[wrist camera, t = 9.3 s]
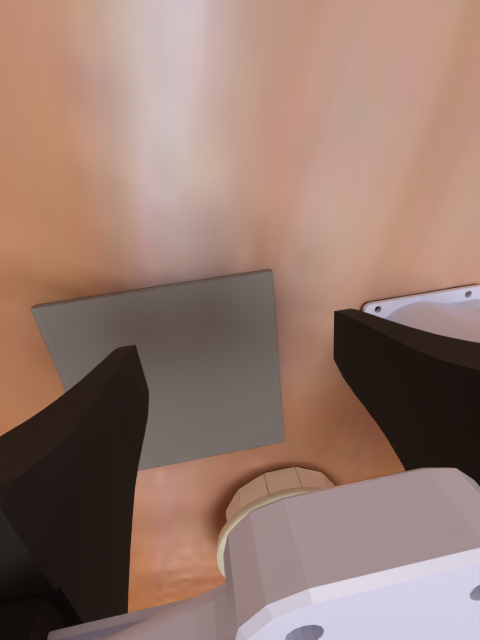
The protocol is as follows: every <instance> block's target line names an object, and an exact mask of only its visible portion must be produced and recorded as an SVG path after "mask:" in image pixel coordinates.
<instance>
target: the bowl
mask: <svg viewBox="0 0 480 640" xmlns="http://www.w3.org/2000/svg"><path fill="white" fill-rule="evenodd" d="M297 487H319V488H330V487H335V485H334V484H333V483H332V482H331V481H330V480H329V479H328V478H327V477H326V476H325V475H324V474H323V473H321V472H318V471H313V470H309V469H304V468H299V467H295V468H294V467H291V468H286V469H282V470H277V471H272V472H267V473H264V474H262V475H260V476H258V477H257V478H255V479H254V480H252V481H251V482H249V483H248V484H246V485H244V486H243V487H241V488H240V489H238V490H239V491H238V490H237V492H236V494H235V495H234V497H233V499H232V501H231V502H230V504H229V506H228V507H227V509H226V519H227V521H228V520H229V519H230V518H231V517H232V516H233V515H234V514H235V513H236V512H237V511H239V510H240V509H241V508H243V507H244V506H246V505H247V504H249V503H250V502H252V501H254V500H256V499H258V498H260V497H263V496H265V495H268V494H270V493H273V492H277V491H280V490H285V489H289V488H297Z"/></svg>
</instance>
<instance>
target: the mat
mask: <svg viewBox="0 0 480 640" xmlns="http://www.w3.org/2000/svg"><path fill="white" fill-rule="evenodd" d="M31 311H32V313H33V316H34V318H35V320H36V323H37V325H38V327H39V330H40V332H41V334H42V337H43V339H44V341H45V344H46V346H47V348H48V351H49V353H50V355H51V358H52V360H53V362H54V365H55V367H56V369H57V372H58V374H59V376H60V379H61V381H62V383H63V386H64V388H65V390H66V392H67V391H68V390H69V389H71V388H72V387H73V386H74V385H75V384H77V383H78V382H79V381H80V380H81V379H83V378H84V377H85V376H86V375H87V374H88V373H89V372H90V371H92V370H93V369H94V368H95V367H96V366H97V365H98V364H99V363H100V362H101V361H102V360H104V359H105V358H106V357H107V356H108V355H109V354H110V353H111V352H112V351H114V350H115V349H116V348H118V347H123V346H129V345H135V344H136V347H137V351H138V354H139V358H140V361H141V365H142V368H143V372H144V375H145V379H146V382H147V385H148V389H149V410H148V420H147V425H146V430H145V436H144V441H143V446H142V451H141V456H140V461H139V466H138V471H140V470H145V469H150V468H155V467H160V466H165V465H170V464H175V463H180V462H186V461H191V460H196V459H201V458H206V457H211V456H216V455H221V454H226V453H231V452H236V451H241V450H246V449H251V448H256V447H261V446H266V445H271V444H276V443H281V442H284V432H283V418H282V403H281V389H280V375H279V360H278V346H277V331H276V317H275V303H274V288H273V274H272V271H271V269H267V270H261V271H254V272H248V273H241V274H235V275H228V276H221V277H215V278H208V279H202V280H195V281H189V282H182V283H176V284H169V285H163V286H156V287H150V288H143V289H136V290H130V291H123V292H117V293H110V294H104V295H97V296H91V297H84V298H78V299H71V300H64V301H58V302H51V303H45V304H38V305H34V306H33V307H32V308H31Z"/></svg>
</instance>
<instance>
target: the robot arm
mask: <svg viewBox="0 0 480 640" xmlns="http://www.w3.org/2000/svg"><path fill="white" fill-rule="evenodd" d="M467 291H468V292H467ZM466 292H467V294H466ZM465 294H466V295H465ZM377 306H379V307H378V309H377V310H375V308H376V307H377ZM334 360H335V362H336V364H337V366H338V368H339V370H340V372H341V374H342V376H343V378H344V379H345V381H346V382H347V384H348V385H349V386H350V388H351V389H352V391H353V392H354V393H355V395H356V396H357V397H358V399H359V400H360V401H361V403H362V404H363V405H364V407H365V408H366V409H367V411H368V412H369V413H370V415H371V416H372V417H373V419H374V420H375V421H376V423H377V424H378V425H379V427H380V428H381V430H382V431H383V433H384V434H385V436H386V437H387V439H388V441H389V442H390V444H391V446H392V447H393V449H394V451H395V453H396V454H397V456H398V458H399V459H400V461H401V463H402V465H403V466H404V468H405V470H406V471H405V472H400V473H395V474H391V475H386V476H381V477H377V478H372V479H367V480H363V481H358V482H353V483H349V484H344V485H339V486H335V487H330V488H325V489H321V490H316V491H311V492H307V493H302V494H297V495H293V496H288V497H283V498H280V499H278V500H275V501H273V502H270V503H268V504H265V505H263V506H260V507H258V508H255V509H253V510H251V511H250V512H249V513H248V514H247V515H246V516H245V517H244V518H243V519H242V520H241V521H240V522H239V523H238V524H237V525H236V526H235V527H234V528H233V529H232V530H231V531H230V532H229V533H228V535H227V540H226V545H225V550H224V554H223V559H224V570H225V580H226V583H224V584H222V585H220V586H218V587H216V588H213V589H211V590H209V591H207V592H205V593H202V594H200V595H198V596H196V597H194V598H190V599H186V600H182V601H178V602H173V603H169V604H165V605H161V606H156V607H152V608H148V609H144V610H139V611H135V612H131V613H128V588H129V566H130V547H131V531H132V517H133V505H134V493H135V484H136V477H137V471H138V466H139V461H140V456H141V451H142V446H143V441H144V436H145V430H146V425H147V420H148V410H149V389H148V385H147V382H146V379H145V375H144V372H143V368H142V365H141V361H140V358H139V354H138V351H137V347H136V344H135V345H129V346H123V347H118V348H116V349H115V350H114V351H112V352H111V353H110V354H109V355H108V356H107V357H106V358H105V359H104V360H102V361H101V362H100V363H99V364H98V365H97V366H96V367H95V368H94V369H93V370H92V371H90V372H89V373H88V374H87V375H86V376H85V377H84V378H83V379H81V380H80V381H79V382H78V383H77V384H75V385H74V386H73V387H72V388H71V389H69V390H68V391H67V392H66V393H65V394H63V395H62V396H61V397H60V398H58V399H57V400H56V401H54V402H53V403H52V404H50V405H49V406H48V407H46V408H45V409H43V410H42V411H40V412H39V413H37V414H36V415H35V416H33V417H32V418H30V419H28V420H27V421H25V422H24V423H22V424H20V425H19V426H17V427H15V428H14V429H12V430H10V431H9V432H7V433H5V434H4V435H2V436H0V640H480V284H477V285H471V286H465V287H459V288H453V289H447V290H441V291H435V292H429V293H423V294H417V295H411V296H405V297H398V298H392V299H386V300H380V301H374V302H369V303H367V304H365V305H364V307H363V310H362V311H359V310H355V309H345V310H339V311H334Z"/></svg>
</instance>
